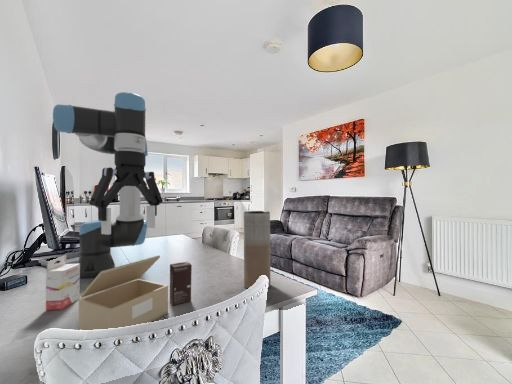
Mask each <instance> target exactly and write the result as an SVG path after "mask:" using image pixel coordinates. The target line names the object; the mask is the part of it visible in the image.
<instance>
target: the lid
mask: <svg viewBox="0 0 512 384" xmlns="http://www.w3.org/2000/svg"><path fill="white" fill-rule="evenodd" d="M160 258H161V256H160V255H156V256H152V257H148V258H145V259H144V258H143V259H141V260H137V261H134V262H131V263H127V264H122V265H120V266H115V268H112V269H108V270H104V271H101V272H100V273H99V274H98V275H97V277H94V279H93V281H91V283H89V285H88V286H87V287H86V288H85V290H84V291H83V292H82V293H81V294H80V299H81V298H84V297H87V296H90V295H93V294H96V293H99V292H101V291H104V290H107V289H110V288H113V287H116V286H119V285H122V284H125V283H127V282H130V281H133V280H136V279H141V278H142V276H144V275H145V274H146V272H148V270H149V269H151V267H152V266H153V265H154V264H155V263H156V262H157V261H158V260H159V259H160Z"/></svg>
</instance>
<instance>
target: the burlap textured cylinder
mask: <svg viewBox="0 0 512 384" xmlns="http://www.w3.org/2000/svg"><path fill="white" fill-rule="evenodd" d="M261 275H266V276H267V277H268V279H269V288H270V287H271V212H270V211H266V210H251V211H250V210H249V211H248V210H247V211H243V282H244V283H243V284H244V288H245V289H247V288H249V287H250V286H252V285H253V284H254V283H255V282H256V280H257V279H258V278H259V276H261Z"/></svg>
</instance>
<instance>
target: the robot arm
mask: <svg viewBox="0 0 512 384" xmlns="http://www.w3.org/2000/svg"><path fill="white" fill-rule="evenodd" d="M113 106H114V111H113V110H106V109H97V108H92V107H83V106H76V105H71V104H56V105H55V106H54V107H53V109H52V110H53V111H52V121H53V126H54V129H55V131H57V132H59V133H67V134H70V135H71V134H74V135H76V136H77V137H78V138H79V141H80V143H81V144H82V145H83V146H84V147H86V148H88V149H90V150H93V151H96V152H98V153H102V154H109V155H114V166H115V168H112V167H111V166H110V167H103V168H102V171H101V178H100V179H99V182H98V184H97V186H96V188H95V190H93V191H94V192H93V194H92V196H91V198H90V200H89V202H88V204H89V205H90V206H93V207H96V208H97V218H98V219H97V220H91V221H87V222H83V223H81V225H80V226H79V233H78V237H79V251H78V252H80V256H78V257H79V258H78V259H77V260H78V263H77V264H80V279H87V278H96V277H97V275H98V274H99V273H100V272H101V271H104V270H108V269H112V268H115V267H116V265H115V262H114V259H113V257H112V252H111V248H119V247H130V246H131V247H132V246H133V247H134V246H140V245H142V244H144V243H145V240H146V235H147V229H154V228H156V216H157V215H158V212H157V209H158V207H157V206H160V204H161V203H163V202H164V201H163V200H164V199H163V198H162V195H161V192H160V189H159V186H158V184H157V181H156V180H155V172H154V171H145V167H146V161H147V160H146V159H147V158H146V157H147V156H148V144H147V138H146V111H147V108H146V101H145V99H144V98H143V97H142V96H141V95H139V94H137V93H134V92H118V93H116V95H115V96H114V104H113ZM114 176H115V177H116V179H115V180H114V181H113V183H112V185H111V187H110V188H109V189H108V187H109V186H110V184H111V181H112V179H113V177H114ZM144 179H145V180H144ZM107 189H108V190H107ZM118 194H119V215H117V216H116V218H115V221H112V208H111V207H109V206H110V204H111V203H112V201H113V200H114V199H115V197H116V196H117V195H118ZM141 195H142V196H143V197H144V199H145V201H146V202H147V203H148V204H149V205H146V219H145V217H144V216H143V215H142V214H141Z"/></svg>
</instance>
